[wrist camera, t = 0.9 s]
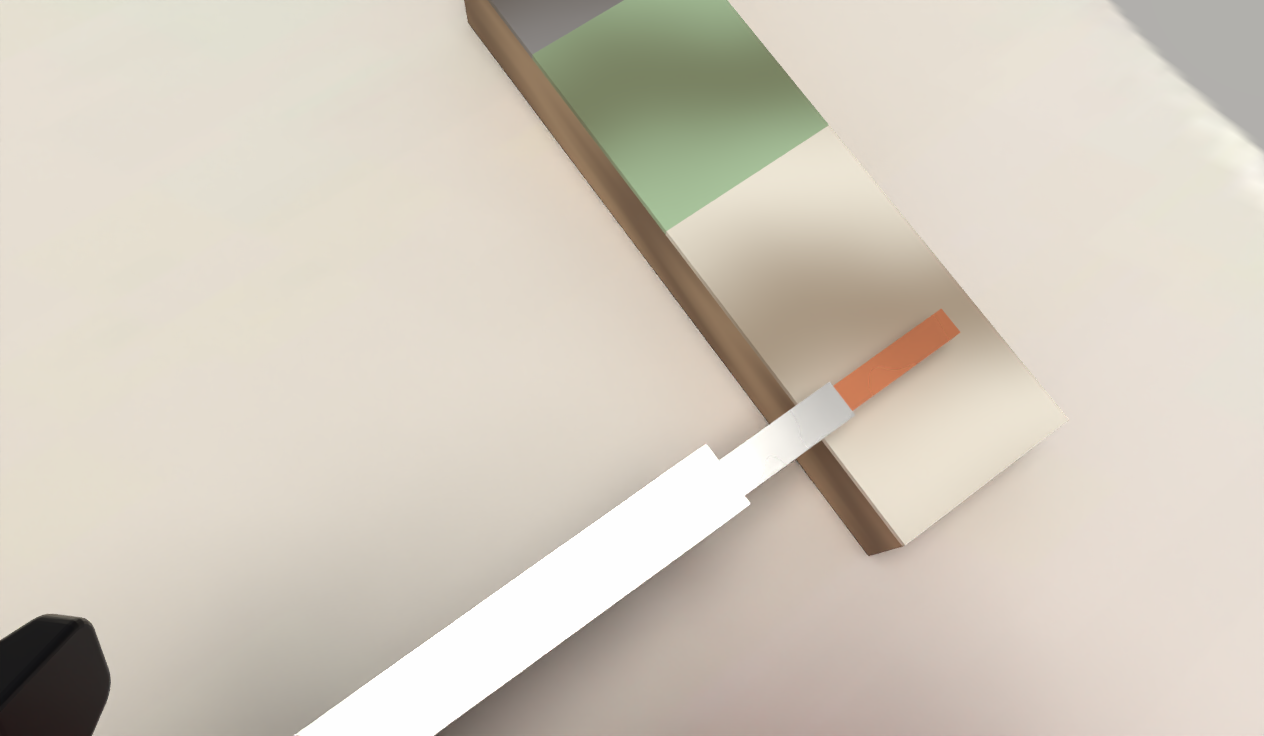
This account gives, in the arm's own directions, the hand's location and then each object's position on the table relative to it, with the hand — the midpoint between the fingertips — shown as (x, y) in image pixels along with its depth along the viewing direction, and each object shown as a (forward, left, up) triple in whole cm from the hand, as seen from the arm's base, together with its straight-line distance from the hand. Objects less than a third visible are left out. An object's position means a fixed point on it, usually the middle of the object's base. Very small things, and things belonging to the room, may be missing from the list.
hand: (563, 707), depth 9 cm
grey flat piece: (+1, -3, -13) cm, 13 cm away
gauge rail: (+6, -9, -13) cm, 17 cm away
